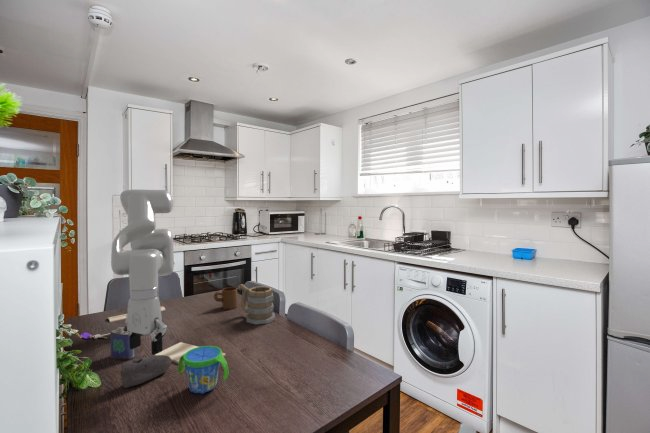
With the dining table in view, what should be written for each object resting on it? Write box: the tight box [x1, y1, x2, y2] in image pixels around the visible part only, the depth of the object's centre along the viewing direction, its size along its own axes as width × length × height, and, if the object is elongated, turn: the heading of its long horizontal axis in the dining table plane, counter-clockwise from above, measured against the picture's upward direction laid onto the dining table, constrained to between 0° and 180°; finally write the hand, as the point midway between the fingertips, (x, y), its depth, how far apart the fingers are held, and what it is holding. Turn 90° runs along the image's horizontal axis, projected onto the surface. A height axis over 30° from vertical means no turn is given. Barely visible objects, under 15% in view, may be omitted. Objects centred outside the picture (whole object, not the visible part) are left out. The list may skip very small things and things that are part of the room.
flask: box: [110, 326, 135, 361], centre depth 114 cm, size 9×3×11 cm, turn 74°
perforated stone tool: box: [119, 355, 172, 389], centre depth 100 cm, size 15×5×7 cm, turn 139°
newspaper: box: [106, 305, 166, 323], centre depth 157 cm, size 24×7×2 cm, turn 133°
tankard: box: [237, 283, 276, 325], centre depth 152 cm, size 20×13×15 cm, turn 58°
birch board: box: [154, 341, 226, 365], centre depth 115 cm, size 22×11×1 cm, turn 65°
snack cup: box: [177, 345, 230, 395], centre depth 95 cm, size 16×10×10 cm
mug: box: [213, 286, 238, 310], centre depth 166 cm, size 12×8×9 cm, turn 132°
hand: (146, 350), depth 99 cm, fingers open, 9 cm apart
